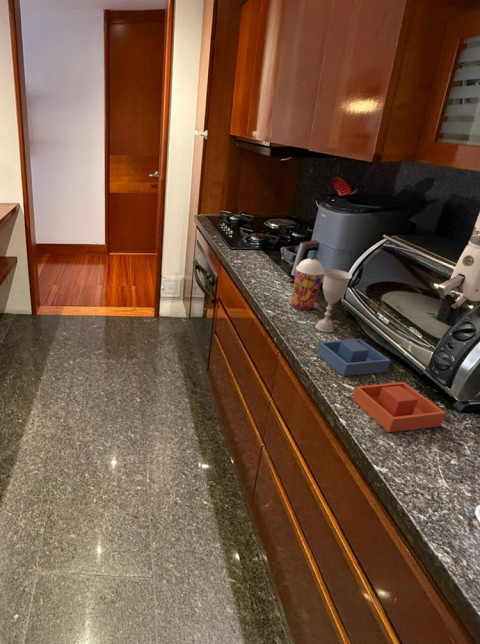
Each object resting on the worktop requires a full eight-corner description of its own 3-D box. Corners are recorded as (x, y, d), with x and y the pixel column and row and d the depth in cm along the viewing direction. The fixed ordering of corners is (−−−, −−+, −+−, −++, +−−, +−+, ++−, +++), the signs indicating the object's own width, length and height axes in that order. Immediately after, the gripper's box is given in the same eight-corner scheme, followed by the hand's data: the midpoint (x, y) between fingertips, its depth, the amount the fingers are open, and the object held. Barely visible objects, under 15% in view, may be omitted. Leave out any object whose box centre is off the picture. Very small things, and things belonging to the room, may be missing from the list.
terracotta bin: (399, 393, 90) (403, 381, 89) (440, 426, 81) (446, 413, 80) (352, 399, 89) (355, 386, 88) (388, 432, 80) (393, 419, 78)
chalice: (342, 334, 115) (357, 278, 108) (319, 334, 115) (333, 278, 108) (329, 322, 121) (342, 269, 115) (307, 322, 122) (319, 269, 115)
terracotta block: (394, 401, 87) (400, 385, 86) (412, 416, 83) (418, 399, 81) (376, 403, 87) (382, 387, 85) (393, 418, 83) (399, 401, 81)
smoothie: (288, 299, 136) (299, 245, 129) (315, 303, 133) (328, 249, 125) (288, 309, 129) (299, 253, 122) (316, 314, 126) (329, 257, 118)
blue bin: (356, 349, 107) (360, 338, 106) (387, 371, 98) (391, 360, 97) (316, 353, 106) (319, 342, 105) (343, 376, 97) (346, 364, 95)
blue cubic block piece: (352, 354, 104) (356, 340, 102) (364, 364, 100) (369, 350, 98) (336, 356, 104) (340, 341, 102) (349, 366, 100) (353, 351, 98)
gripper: (478, 248, 67) (446, 334, 73) (563, 243, 69) (524, 327, 75) (437, 236, 74) (411, 315, 80) (515, 232, 76) (483, 309, 82)
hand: (465, 321), depth 78 cm, fingers open, 9 cm apart
